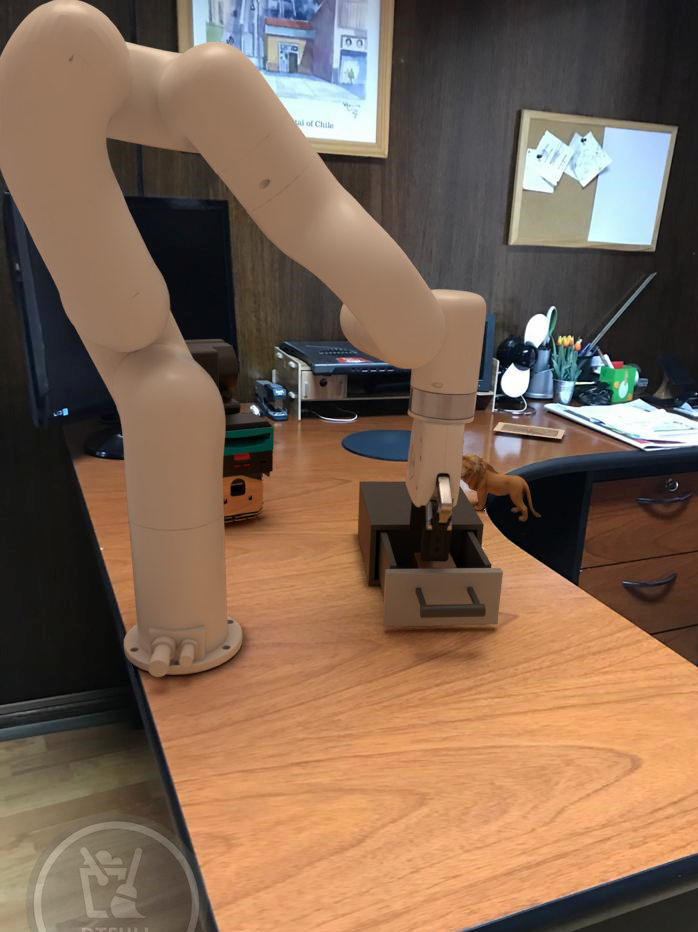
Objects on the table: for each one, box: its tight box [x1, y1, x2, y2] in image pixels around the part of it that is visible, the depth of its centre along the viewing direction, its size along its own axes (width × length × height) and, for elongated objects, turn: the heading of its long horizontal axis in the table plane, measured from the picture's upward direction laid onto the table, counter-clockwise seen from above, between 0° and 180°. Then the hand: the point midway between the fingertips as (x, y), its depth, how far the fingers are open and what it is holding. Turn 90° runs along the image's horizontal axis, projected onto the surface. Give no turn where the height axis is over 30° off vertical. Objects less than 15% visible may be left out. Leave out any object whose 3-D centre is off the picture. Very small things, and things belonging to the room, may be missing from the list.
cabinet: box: [357, 480, 485, 586], centre depth 107 cm, size 17×15×9 cm
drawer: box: [376, 530, 504, 627], centre depth 93 cm, size 21×13×7 cm, turn 7°
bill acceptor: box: [184, 338, 275, 523], centre depth 120 cm, size 10×23×25 cm, turn 33°
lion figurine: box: [460, 453, 542, 522], centre depth 126 cm, size 15×5×9 cm, turn 66°
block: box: [413, 552, 457, 569], centre depth 94 cm, size 4×4×4 cm
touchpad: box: [493, 421, 566, 440], centre depth 173 cm, size 8×15×2 cm, turn 72°
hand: (427, 543), depth 93 cm, fingers open, 9 cm apart
